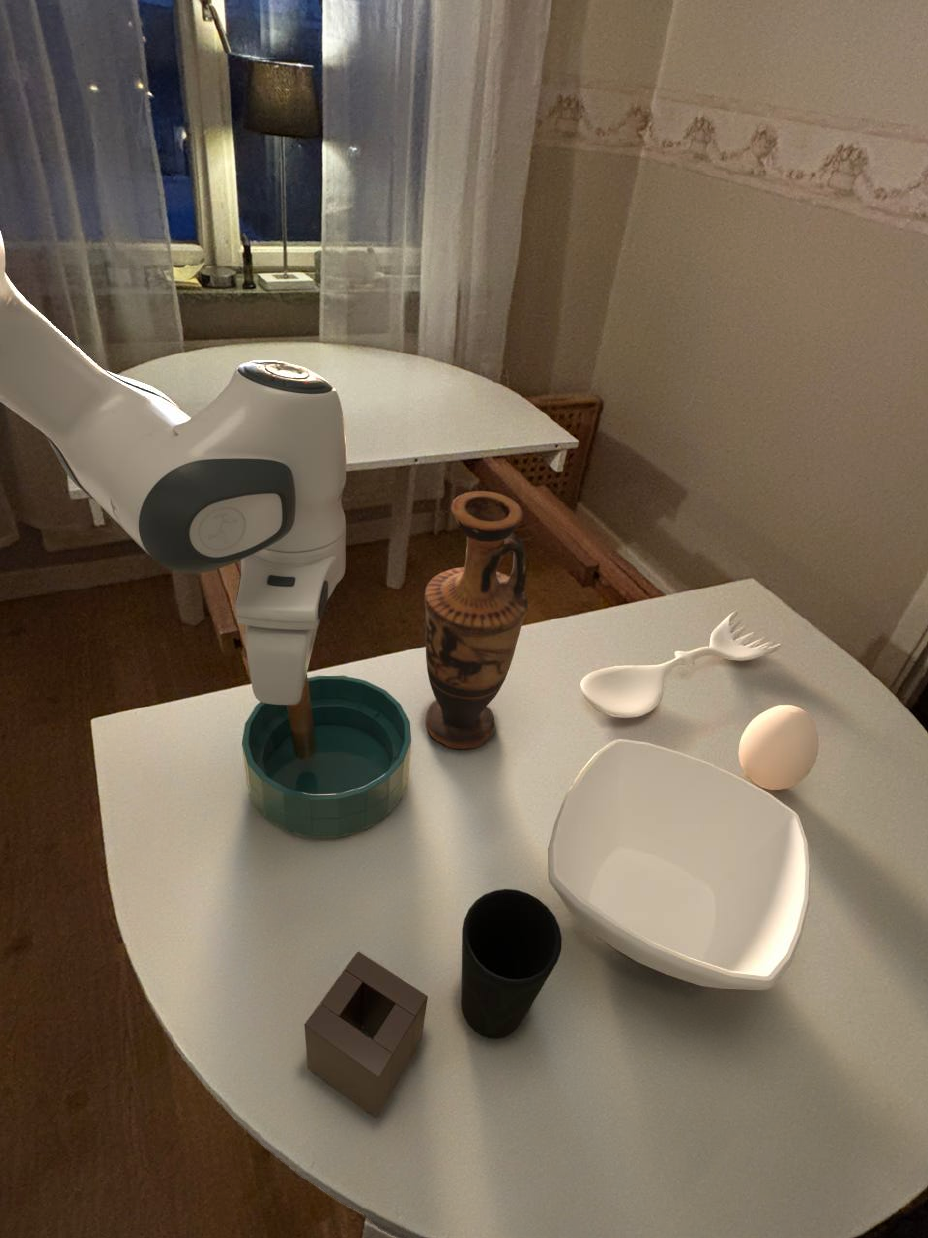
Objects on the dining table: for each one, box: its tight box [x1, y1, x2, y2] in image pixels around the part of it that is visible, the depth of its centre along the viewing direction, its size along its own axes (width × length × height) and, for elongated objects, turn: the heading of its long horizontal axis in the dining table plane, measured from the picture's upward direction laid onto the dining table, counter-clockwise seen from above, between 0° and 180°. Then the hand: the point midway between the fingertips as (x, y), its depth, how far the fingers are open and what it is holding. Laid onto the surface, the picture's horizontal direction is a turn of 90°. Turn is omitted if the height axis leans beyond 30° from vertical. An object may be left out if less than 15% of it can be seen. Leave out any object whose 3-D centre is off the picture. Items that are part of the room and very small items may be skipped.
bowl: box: [547, 738, 811, 991], centre depth 69 cm, size 22×22×12 cm
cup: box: [460, 888, 563, 1040], centre depth 60 cm, size 8×8×12 cm
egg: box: [738, 704, 819, 791], centre depth 84 cm, size 8×8×11 cm
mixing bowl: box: [241, 675, 412, 839], centre depth 79 cm, size 17×17×7 cm
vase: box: [424, 490, 529, 750], centre depth 80 cm, size 11×11×30 cm
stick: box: [287, 674, 317, 760], centre depth 74 cm, size 2×2×18 cm
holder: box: [304, 950, 429, 1119], centre depth 57 cm, size 7×7×8 cm
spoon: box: [579, 610, 783, 719], centre depth 99 cm, size 9×32×4 cm, turn 122°
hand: (299, 670), depth 72 cm, fingers closed on stick, 2 cm apart
